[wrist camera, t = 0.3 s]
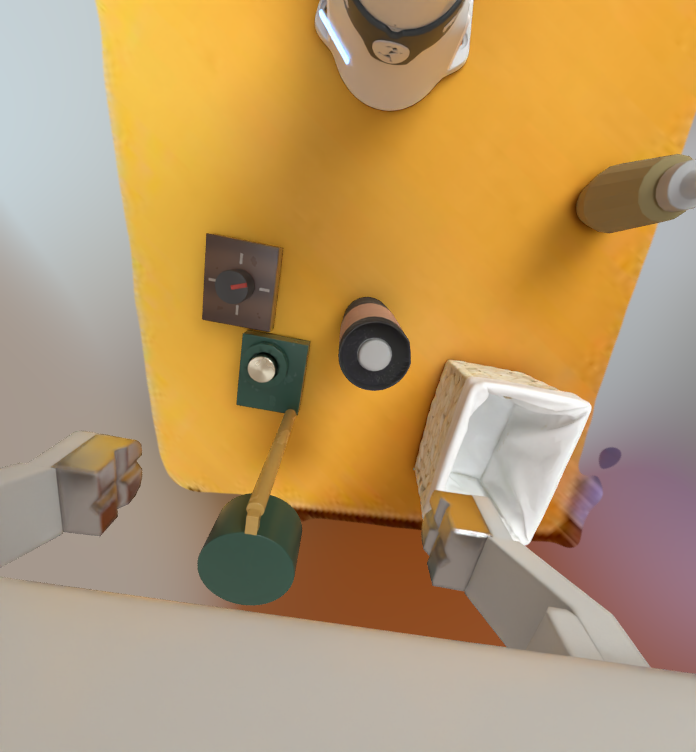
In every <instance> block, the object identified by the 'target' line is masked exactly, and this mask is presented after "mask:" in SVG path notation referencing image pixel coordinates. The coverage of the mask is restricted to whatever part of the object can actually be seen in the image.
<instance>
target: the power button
mask: <svg viewBox="0 0 696 752" xmlns="http://www.w3.org/2000/svg"><path fill="white" fill-rule="evenodd" d="M276 372H277V363H276V361H275V359H274V358H273V357H272V356H270V355H268V354H264V353H262V354H258V355H256V356H255V357H254V358H253V359H252V360H251V361H250V362H249V364H248V373H249V375H250V376H251V378H252V379H254V380H255V381H257V382H268V381H270V380H271V379H272V378H273V377H274V375H275V373H276Z"/></svg>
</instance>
